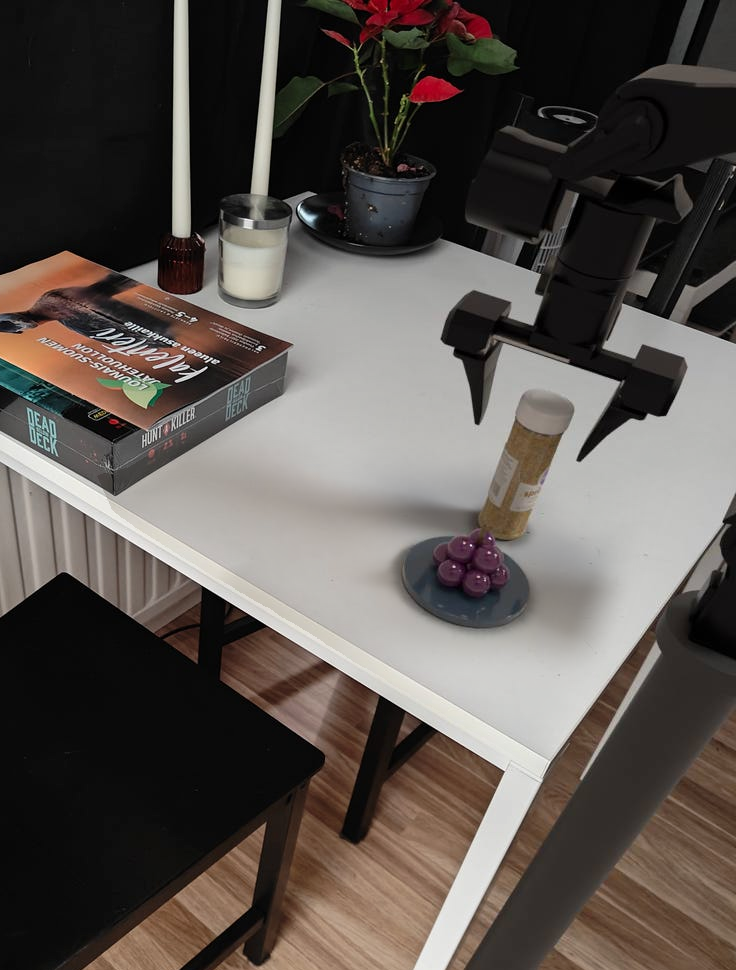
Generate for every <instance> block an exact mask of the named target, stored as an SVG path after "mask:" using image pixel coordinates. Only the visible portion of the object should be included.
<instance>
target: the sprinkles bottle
mask: <svg viewBox="0 0 736 970" xmlns="http://www.w3.org/2000/svg"><path fill="white" fill-rule="evenodd" d="M574 414H575V406H574V403H573V402H572V400H570V399H569V398H568V397H567V396H566V395H564V394H562V393H560V392H557V391H554V390H551V389H546V388H532V389H527V390H526V391H525V392H523V393H522V395H521V396H520V399H519V401H518V404H517V407H516V409H515V415H514V421H513V424H512V427H511V430H510V432H509V435H508V438H507V441H506V442H505V444H504V446H503V449H502V452H501V455H500V458H499V460H498V463H497V466H496V469H495V471H494V474H493V477H492V479H491V482H490V485H489V489H488V491H487V497H486V500H485V501H484V505H483V507H482V510H481V511H480V512H479V514H478V517H477V521H478V525H479V528H481V527H482V525H483V523H485V522H486V523H488V525H489V526H488V529H487V530H489V531H490V532H491V533H492V534H493V535H494V537H495V539H498V540H504V541H505V540H507V541H510V540H517V539H519V538H521V537H522V536H523V535H524V534H525V532H526V528H527V523H528V521H529V519H530V516H531V514H532V511H533V508H534V507H535V505H536V503H537V500H538V498H539V495H540V493H541V492H542V491H541V490H542V488H543V486H544V483H545V481H546V479H547V476H548V474H549V471H550V468H551V466H552V461H553V459H554V457H555V455H556V452H557V450H558V447H559V444H560V442H561V439H562V437H563V435H564V434H565V432H566V431H567V430H568V429H569V427H570V424H571V422H572V419H573V417H574Z"/></svg>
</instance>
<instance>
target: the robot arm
mask: <svg viewBox="0 0 736 970" xmlns="http://www.w3.org/2000/svg"><path fill="white" fill-rule="evenodd" d="M595 123H596V124H595V127H594V128H593V129H592V130H590V131H587V132H585V133H584V134H583V135H581V136H580V137H578V138H576V139H575V140H573V141H571V142H570V143H568V144H567V145H564V144H561V143H557V142H553V141H551V140H547V139H543V138H540V137H536V136H535V135H531V134H530V133H528V132H526V131H525V130H524V129H521V128H519V127H515V126H511V125H506V126H505V127H503V128H501V129H499V130H498V131H496V132H495V134H494V137H493V142H492V144H491V148H490V149H489V150H488V152H487V153H486V155H485V157H484V158H483V160H482V162H481V164H480V165H479V168H478V170H477V172H476V175H475V178H474V179H473V180H472V181H471V182H470V185H469V188H468V192H467V196H466V199H465V200H466V201H465V207H464V208H465V209H464V217H465V220H466V222H467V223H469V224H473V225H475V226H478V227H481V228H484V229H486V230H490V231H493V232H496V233H499V234H502V235H505V236H508V237H510V238H514V239H516V240H518V241H519V240H520V241H523V242H526V243H529V244H531V245H537V244H539V243H540V242H541V241H542V239H543V238H544V237H545V235H546V234H549V235H552V236H555V235H557V234H558V233H559V232H560V231H561V229H562V227H563V226H564V224H565V222H566V220H567V217H568V216H569V213H570V211H571V209H572V206H574V207H573V209H572V212H571V215H570V218H569V220H568V223H567V226H566V228H565V229H566V230H565V233H564V235H563V238H562V241H561V244H560V247H559V249H558V253H557V256H556V255H555V256H554V255H550V254H549V256H548V258H547V260H546V263H545V265H544V267H543V269H542V271H541V273H540V276H539V278H538V281H537V284H536V286H535V289H534V294H535V295H537V296H540V297H542V299H541V301H540V304H539V307H538V310H537V312H536V316H535V318H534V321H533V324H529V323H526V322H523V321H520V320H517V319H514V318H511V317H510V314H511V311H512V301H509V300H506V299H504V298H500V297H497V296H494V295H491V294H488V293H485V292H482V291H479V290H476V289H473V290H471V291H469V292H467V293H466V294H465V295H463V296H462V297H461V299H459V301H458V302H457V303H456V304H455V305H454V306H453V307H452V308H451V310H449V312H448V314H447V316H446V318H445V321H444V324H443V328H442V332H441V335H440V341H441V342H442V343H443V345H446V346H449V347H451V348H453V351H452V356H453V357H454V358H455V359H458V360H461V362H462V365H463V369H464V372H465V376H466V379H467V383H468V387H469V392H470V399H471V406H472V413H473V421H474V425H476V426H480V425H481V423H483V420H484V417H485V414H486V412H487V408H488V406H489V402H490V398H491V392H492V388H493V384H494V379H495V374H496V370H497V364H498V361H499V357H500V354H501V351H502V348H503V346H504V344H505V345H508V346H511V347H514V348H518V349H520V350H524V351H526V352H529V353H532V354H535V355H537V356H541V357H544V358H547V359H550V360H553V361H556V362H559V363H562V364H565V365H568V366H570V367H574V368H578V369H580V370H583V371H586V372H589V373H592V374H595V375H598V376H601V377H604V378H606V379H610V380H613V381H616V382H619V383H618V385H617V387H616V389H615V390H614V392H613V394H612V396H611V397H610V398H609V400H608V402H607V404H606V405H605V407H604V408H603V411H602V412H601V414H600V415H599V417H598V418H597V420H596V422H595V423H594V425H593V426H592V428H591V429H590V431H589V433H588V435H587V436H586V438H585V440H584V441H583V444H582V446H581V447H580V450H579V452H578V455H577V457H576V459H575V461H576V462H578V463H581V462H583V460H584V459H585V458H587V456H588V455H589V454H591V453H592V451H593V450H594V449H595V448H597V446H599V445H600V444H601V443H602V442H603V441H604V440H605V439H606V438H607V437H608V436H609V435H611V434H612V433H613V432H615V431H616V430H617V429H618V428H620V427H622V426H623V425H624V424H626V423H627V422H628V421H630V420H635V421H640V422H641V421H645V420H646V419H647V416H648V415H651V416H653V417H657V418H660V417H667V415H668V414H669V412H670V410H671V408H672V406H673V404H674V401H675V400H676V398H677V395H678V393H679V391H680V389H681V386H682V383H683V381H684V379H685V376H686V374H687V371H688V368H689V366H688V364H687V361H686V358H685V357H684V356H681V355H678V354H675V353H671V352H669V351H665V350H662V349H659V348H656V347H652V346H650V345H647V344H643V343H642V344H641V346H640V348H639V350H638V352H637V354H636V356H635V357H630V356H627V355H624V354H621V353H619V352H616V351H612V350H609V349H606V348H604V346H605V344H606V342H608V341H609V339H610V337H611V336H612V333H613V331H614V329H615V326H616V324H617V322H618V319H619V317H620V314H621V312H622V309H623V300H624V298H625V296H626V293H627V291H628V288H629V286H630V284H631V281H632V279H633V276H634V273H635V271H636V268H637V267H638V264H639V261H640V259H641V257H642V254H643V252H644V250H645V247H646V244H647V243H648V239H649V238H650V236H651V233H652V230H653V227H654V225H655V223H656V220H657V219H658V220H661V221H663V222H667V223H671V224H675V225H676V224H679V223H681V221H682V220H683V219H684V218H685V217H686V216H687V215H688V214H689V213H690V212H691V210H692V209H693V206H694V203H693V201H692V199H691V198H690V196H689V193H688V192H687V190H686V189H685V186H684V182H683V181H684V180H683V179H684V177H683V175H682V174H680V173H677V174H675V175H674V176H673V177H671V178H669V179H667V180H665V181H663V182H660V181H659V182H658V181H655V180H652V179H649V178H646V177H643V176H648V175H652V174H657V173H662V172H666V171H670V170H671V171H672V170H675V169H680V168H685V167H688V166H692V165H695V164H699V163H702V162H705V161H710V160H713V159H715V158H719V157H723V156H726V155H731V154H735V153H736V71H732V70H727V69H722V68H716V67H707V66H698V65H688V64H687V65H686V64H677V63H664V64H662V65H657V66H653V67H651V68H649V69H648V70H646V71H644V72H642V73H640V74H639V75H637V76H635V77H634V78H632V79H630V80H628V81H627V82H624V83H623V84H622V85H620V86H618V87H617V88H616V89H615V90H614V91H613V92H612V93H611V94H610V96H608V97H607V99H606V100H605V101H604V103H603V105H602V107H601V109H600V110H599V113H598V115H597V120H596V122H595ZM610 171H611V172H612V173H614V174H616V175H618V176H617V178H616V179H615V180H614V179H613V180H612V179H608V178H604V177H599V175H601V174H605V173H606V172H607V173H608V172H610ZM576 194H578V195H577V198H576V201H575V204H574V205H573V203H574V200H575V196H576ZM721 522H722V524H724V525H726V526H725V528H724V531H723V533H722V535H721V537H720V541H719V544H718V546H719V548H720V554H721V558H723V560H724V561H725V563H724V564H723V566H722V567H721V569H720V570H718V569H714V570H711V572H710V573H709V575H708V577H707V578H706V580H705V582H704V583H703V585H702V586H701V588H700V589H699V590H700V591H699V593H698V594H697V596H696V598H695V599H694V601H693V602H692V606H691V609H690V613H689V617H688V619H689V621H690V622H691V625H690V629H689V633H688V639H689V640H690V641H692V642H694V643H696V644H699V645H701V646H704V647H706V648H709V649H711V650H714V651H716V652H719V653H721V654H724V655H726V656H729V657H731V658H734V659H736V492H735V493H734V495H733V497H732V499H731V501H730V504H729V506H728V508H727V510H726V512H725V514H724V517H723V519H722V521H721Z"/></svg>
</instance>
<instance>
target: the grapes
mask: <svg viewBox="0 0 736 970" xmlns="http://www.w3.org/2000/svg"><path fill="white" fill-rule="evenodd" d="M488 526H489V525H488V523H486V522H485V523H483V525H482V527H479V528H476V529H473V530H472V531H471V532H470V533H469V534H468V535H465V534H460V535H455V536H454V535H447V536H446V535H444V536H443V535H441V536H436V537H431V538H427V539H425V540H422V541H420V542H419V543H417V544H416V545H414V546H413V547H412V548H410V550H409V551H408V553H407V554H406V556H405V558H404V562H403V566H402V568H401V569H402V570H401V571H402V572H401V576H402V581H403V584H404V587H405V589H406V591H407V593H409V595H410V596H411V597H412V599H413V600H414V601H415V602H416V603H417V604H418V605H419V606H420V607H422V608H423V609H424V610H426V611H427V612H429V613H430V614H432V615H433V616H435V617H438V618H440V619H442V620H444V621H446V622H449V623H452V624H455V625H459V626H463V627H468V628H470V627H471V628H493V627H499V626H502V625H506V624H509V623H510V622H512V621H514V620H515V619H516V618H518V617H519V616H520V615H521V614H522V613H523V611H524V609H525V608H526V606H527V603H528V602H529V599H530V592H531V589H530V584H529V583H530V582H529V579H528V578H527V575H526V574H525V572H524V570H523V569H522V568H521V567H520V565H519V564H518V563H517V562H516V561H515V560H514V559H513V558H512V557H511V556H509V555H508V554H507V553H505V552H504V551H502V550H501V549H500V547H498V546H496V538H495V537H494V535H493V534H492V533H491V532H490V531H489V530H487V529H488Z"/></svg>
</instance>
